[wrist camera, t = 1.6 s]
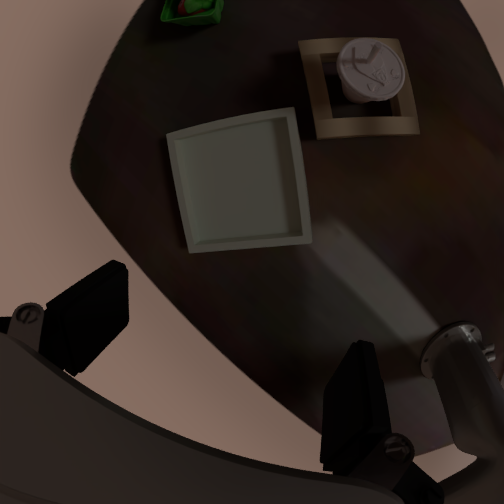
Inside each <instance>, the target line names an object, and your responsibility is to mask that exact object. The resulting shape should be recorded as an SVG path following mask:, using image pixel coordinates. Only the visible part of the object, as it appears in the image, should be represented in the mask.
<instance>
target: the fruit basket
mask: <svg viewBox="0 0 504 504" xmlns="http://www.w3.org/2000/svg"><path fill="white" fill-rule="evenodd" d="M223 5H224V0H166V1H165V5H164V8H163V11H162V14H161V18H160V19H161V21H163V22H169V23H170V22H172V23H176V24H179V25H183V26H191V25H207V24H211V23H213V24H218V23H219V22H220V18H221V11H222V9H223Z"/></svg>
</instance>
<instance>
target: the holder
mask: <svg viewBox="0 0 504 504" xmlns="http://www.w3.org/2000/svg"><path fill="white" fill-rule="evenodd" d="M354 39H358V38H328V39H314V40H304V41H298V45H299V50H300V55H301V59H302V64H303V68H304V73H305V77H306V82H307V87H308V92H309V97H310V103H311V108H312V114H313V119H314V125H315V131H316V138H317V140H323V139H335V138H350V137H370V136H412V135H418V134H420V131H419V124H418V118H417V112H416V107H415V101H414V97H413V92H412V87H411V83H410V79H409V75H408V71H407V67H406V63H405V60H404V56H403V53H402V50H401V46H400V43H399V40H398V39H388V38H370V39H375V40H378V41H380V42H382V43H384V44H386V45H387V46H389V47H390V48H391V49H392V50H394V52H395V53H396V54H397V55H398V56H399V58H400V60H401V61H402V64H403V66H404V70H405V80H404V84H403V86H402V88H401V89H400V90H399V92H398V93H397V94H396V95H395V96H393V97H392V98H389V100H390V105H391V110H392V116H393V117H354V118H337V119H333V117H332V112H331V106H330V101H329V96H328V91H327V86H326V81H325V76H324V72H323V68H322V63H329V62H337V58H338V55H339V53H340V50H341V49H342V47H343V46H344V45H345V44H346V43H348V42H349V41H351V40H354Z"/></svg>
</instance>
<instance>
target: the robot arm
mask: <svg viewBox="0 0 504 504" xmlns="http://www.w3.org/2000/svg"><path fill="white" fill-rule="evenodd" d="M128 301H129V299H128V270H127V269H126V266H125V264H123V263H121V262H118V261H116V260H111V261H109V262H108V263H106V264H105V265H103V266H101V267H100V268H98V269H97V270H95V271H94V272H92V273H91V274H89V275H87V276H86V277H84V278H83V279H81V280H80V281H78V282H77V283H75V284H74V285H73V286H71V287H69V288H68V289H67V290H65V291H64V292H62V293H61V294H59V295H58V296H56V297H55V298H54V299H52V300H51V301H49V302H48V303H46V307H47V309H46V310H43V307H41V306H40V305H39V304H37V303H25V304H22V305H20V306H18V307H17V308H16V309H15V311H14V313H13V315H12V317H0V504H504V390H503V388H502V386H501V384H500V382H499V380H498V378H497V376H496V374H495V373H494V371H493V369H492V367H491V365H490V364H489V362H492V361H494V360H495V352H494V351H492V350H494V344H493V343H491V344H487V345H483V343H482V342H481V338H482V337H481V333H480V331H479V329H478V328H477V326H476V325H474V324H473V323H470V322H459V323H455V324H452V325H450V326H448V327H446V328H445V329H443V330H442V331H440V332H439V333H438V334H437V335H436V336H434V337H433V338H432V340H431V341H430V342H429V343H428V344H427V346H426V347H425V349H424V351H423V353H422V356H421V359H420V368H421V371H422V373H423V375H424V376H425V377H426V378H428V379H430V380H434V381H435V384H436V386H437V389H438V392H439V395H440V398H441V401H442V404H443V407H444V410H445V414H446V417H447V420H448V424H449V427H450V431H451V434H452V438H453V441H454V444H455V445H456V447H457V448H458V449H459V450H461V451H462V452H465V453H468V454H471V455H475V456H477V459H476V460H475V461H474V462H473V463H471V464H470V465H468V466H467V467H466V468H464V469H462V470H461V471H459V472H457V473H455V474H454V475H452V476H450V477H448V478H446V479H444V480H442V481H441V482H438V483H437V482H435V481H434V480H433V479H432V478H431V477H430V476H429V475H427V474H426V473H425V472H424V471H423V470H422V469H421V468H419V467H418V466H417V465H416V464H415V463H414V462H413V458H414V455H415V450H414V446H413V444H412V442H411V441H410V440H409V439H408V438H407V437H406V436H404V435H402V434H399V433H392V430H391V423H390V417H389V411H388V405H387V399H386V393H385V388H384V383H383V380H382V379H381V376H380V371H379V367H378V362H377V357H376V353H375V348H374V344H373V343H371V342H367V341H363V340H358V341H357V343H355V342H353V343H352V345H351V346H350V348H349V350H348V351H347V353H346V355H345V356H344V358H343V360H342V362H341V363H340V365H339V366H338V368H337V370H336V371H335V373H334V375H333V376H332V378H331V379H330V381H329V382H328V384H327V385H326V387H325V390H324V398H323V421H322V437H321V452H320V463H323V471H331V472H333V475H332V474H325V473H319V472H312V471H306V470H300V469H294V468H289V467H284V466H279V465H275V464H270V463H265V462H261V461H258V460H254V459H249V458H246V457H242V456H239V455H235V454H232V453H228V452H225V451H222V450H219V449H216V448H213V447H210V446H207V445H204V444H201V443H199V442H196V441H193V440H191V439H188V438H186V437H183V436H181V435H178V434H176V433H173V432H171V431H169V430H166V429H164V428H162V427H160V426H157V425H155V424H153V423H151V422H149V421H147V420H145V419H143V418H141V417H139V416H137V415H135V414H133V413H131V412H129V411H127V410H125V409H123V408H122V407H120V406H118V405H116V404H114V403H113V402H111V401H109V400H107V399H106V398H104V397H102V396H101V395H99V394H97V393H96V392H94V391H92V390H91V389H89V388H88V387H86V386H85V385H83V384H82V383H80V382H79V381H77V380H76V379H74V378H72V377H71V376H70V375H68V374H67V373H65V372H64V371H63V370H64V369H65V371H66V372H68V373H69V374H71V375H72V376H74V377H75V376H76V375H77V374H78V373H81V372H83V371H84V370H85V369H86V368H87V367H88V366H89V365H90V364H91V363H92V362H93V360H94V359H95V358H96V357H97V356H98V355H99V354H100V353H101V352H102V351H103V350H104V349H105V348H106V347H107V346H108V345H109V344H110V343H111V341H112V340H114V339H115V338H116V336H117V335H118V334H119V333H120V332H121V331H122V330H123V329H124V328H125V327H126V326H127V324H128V322H129V304H128V303H129V302H128ZM489 351H491V352H489ZM486 352H488V353H486Z"/></svg>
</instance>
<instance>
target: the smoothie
mask: <svg viewBox="0 0 504 504" xmlns="http://www.w3.org/2000/svg"><path fill="white" fill-rule="evenodd" d="M337 71H338V74H339V76H340V79H341V82H342V91H343V94H344V96H345V97H346V98H347V99H348V100H349V101H351V102H353V103H356V104H363V103H366V102H369V101H382V100H387V99H389V98H392V97H393V96H395V95H396V94H397V93H398V92H399V90H400V89H401V88H402V86H403V84H404V80H405V70H404V66H403V64H402V61H401V60H400V58H399V56H398V55H397V54H396V53H395V52H394V50H392V49H391V48H390V47H389V46H387V45H386V44H384V43H382V42H380V41H378V40H375V39H370V38H358V39H354V40H351V41H349V42H348V43H346V44H345V45H344V46H343V47H342V49H341V50H340V53H339V55H338V58H337Z"/></svg>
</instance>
